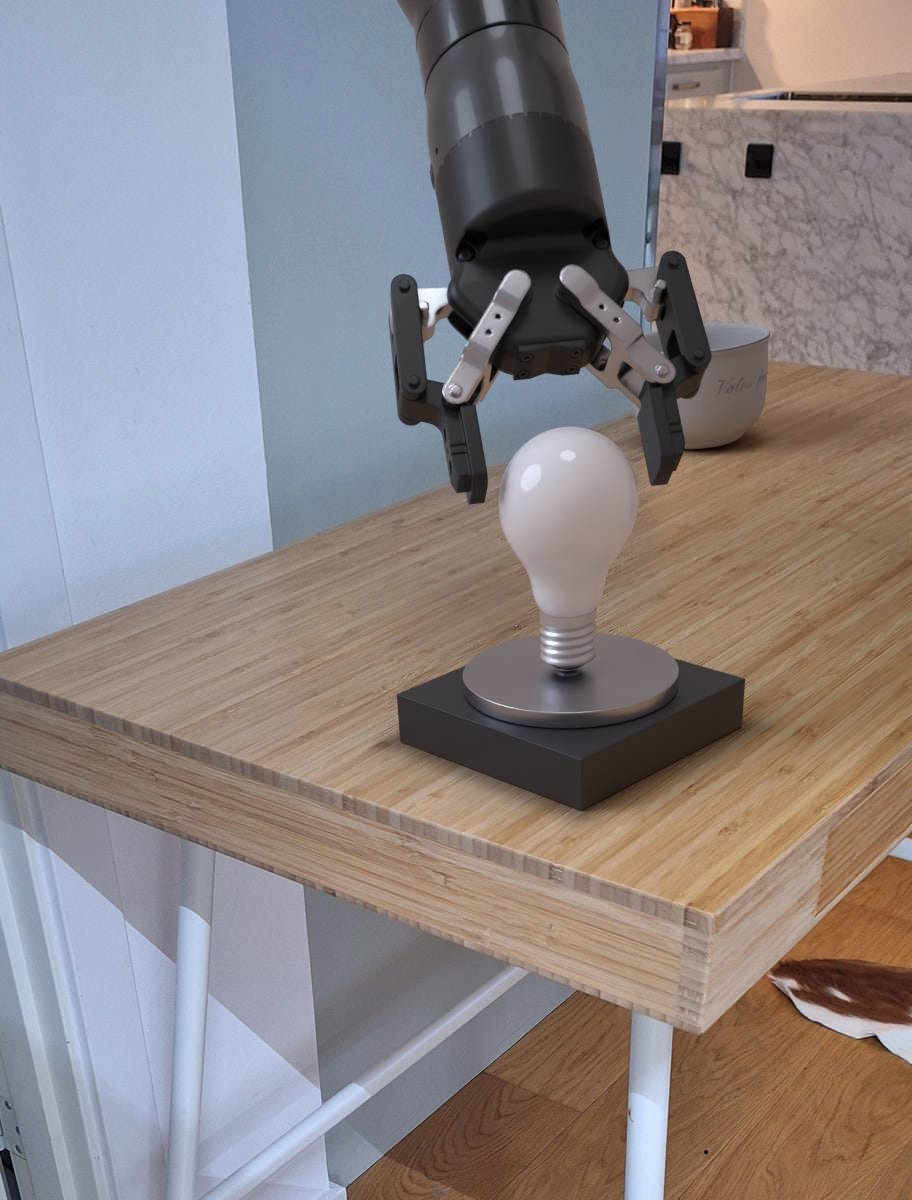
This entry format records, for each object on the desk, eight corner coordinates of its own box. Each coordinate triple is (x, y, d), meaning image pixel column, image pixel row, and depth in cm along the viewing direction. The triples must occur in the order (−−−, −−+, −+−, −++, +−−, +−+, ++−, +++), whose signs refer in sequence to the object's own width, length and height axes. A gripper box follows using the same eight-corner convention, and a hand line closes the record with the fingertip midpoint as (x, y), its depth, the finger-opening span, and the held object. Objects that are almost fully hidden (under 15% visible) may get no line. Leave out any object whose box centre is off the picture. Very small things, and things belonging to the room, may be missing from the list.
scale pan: (561, 632, 77) (561, 617, 77) (722, 678, 71) (723, 662, 70) (419, 692, 72) (418, 676, 71) (580, 748, 65) (580, 731, 65)
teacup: (735, 462, 112) (743, 349, 108) (605, 452, 117) (606, 343, 112) (792, 421, 122) (801, 315, 117) (670, 412, 127) (674, 310, 122)
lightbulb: (486, 688, 69) (478, 444, 63) (522, 641, 74) (517, 410, 68) (618, 698, 68) (623, 448, 61) (646, 649, 72) (653, 412, 66)
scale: (560, 670, 80) (560, 625, 78) (742, 726, 72) (746, 678, 71) (399, 741, 73) (395, 693, 72) (581, 811, 66) (581, 759, 64)
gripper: (365, 118, 64) (421, 454, 62) (679, 93, 66) (748, 420, 63) (361, 240, 72) (411, 545, 69) (644, 216, 73) (704, 513, 70)
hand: (572, 485), depth 66 cm, fingers open, 8 cm apart
